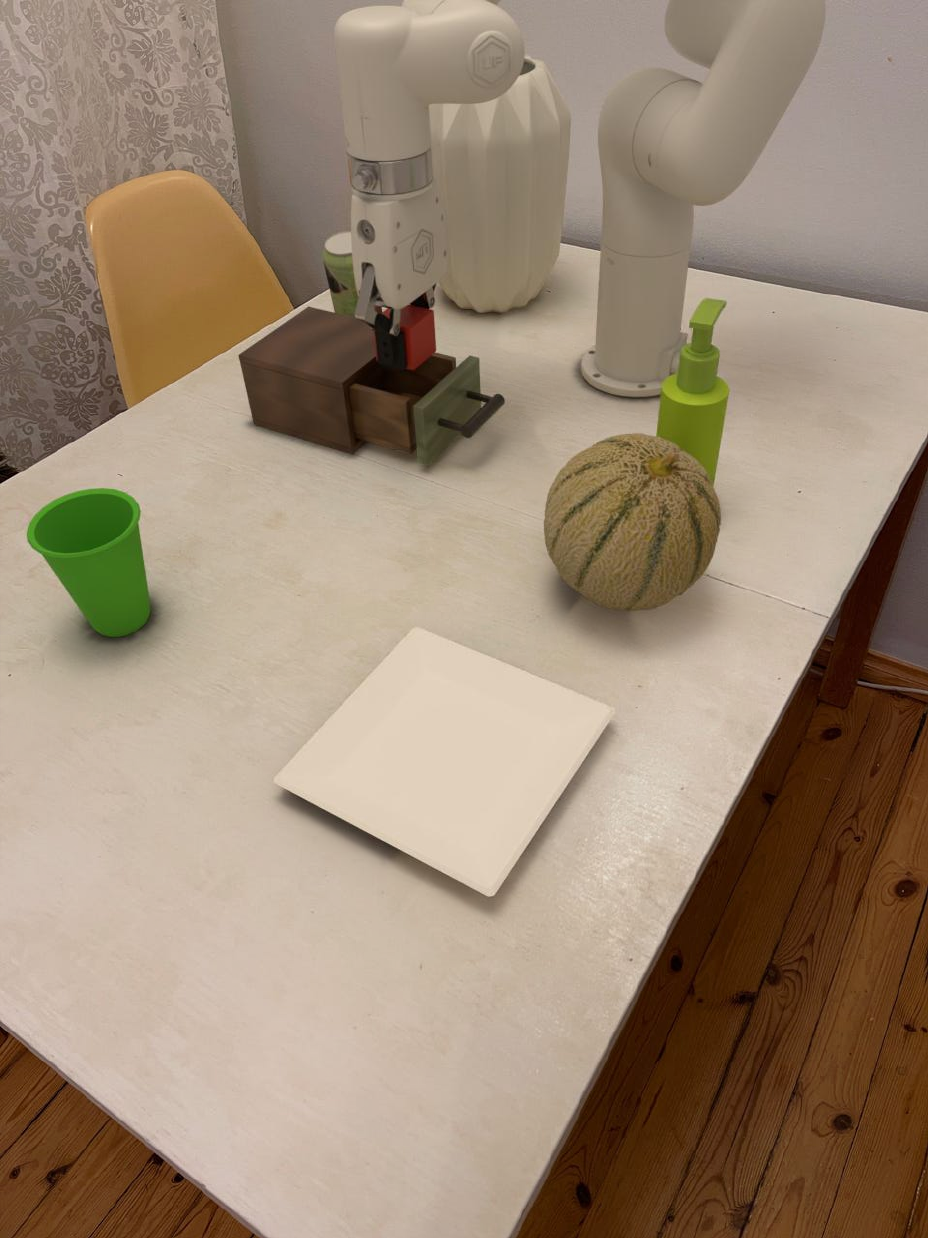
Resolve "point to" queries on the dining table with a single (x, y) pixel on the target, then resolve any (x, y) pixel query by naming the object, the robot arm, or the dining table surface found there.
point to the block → (416, 334)
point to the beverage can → (341, 273)
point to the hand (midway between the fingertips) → (406, 353)
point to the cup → (96, 556)
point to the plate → (449, 756)
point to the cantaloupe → (632, 522)
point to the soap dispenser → (696, 393)
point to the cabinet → (309, 376)
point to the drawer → (421, 405)
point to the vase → (502, 190)
